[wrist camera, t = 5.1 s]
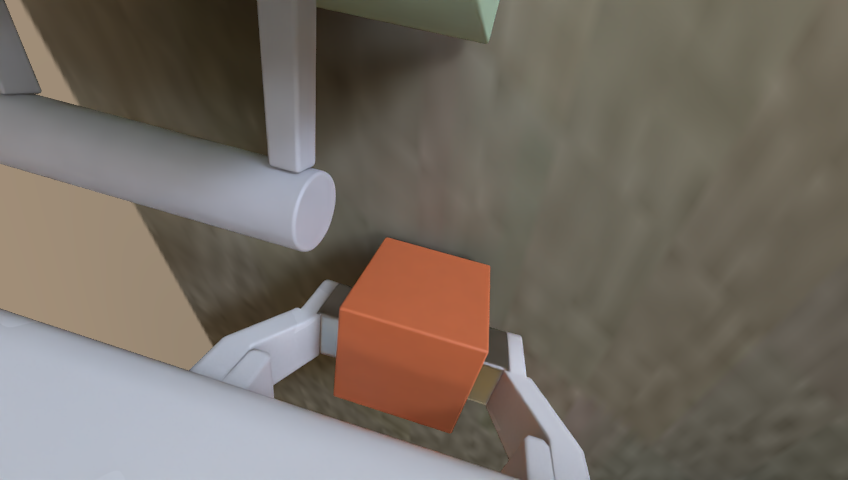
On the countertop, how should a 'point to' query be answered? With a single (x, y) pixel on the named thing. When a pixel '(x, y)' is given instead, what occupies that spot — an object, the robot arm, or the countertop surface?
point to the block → (414, 334)
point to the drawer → (202, 159)
